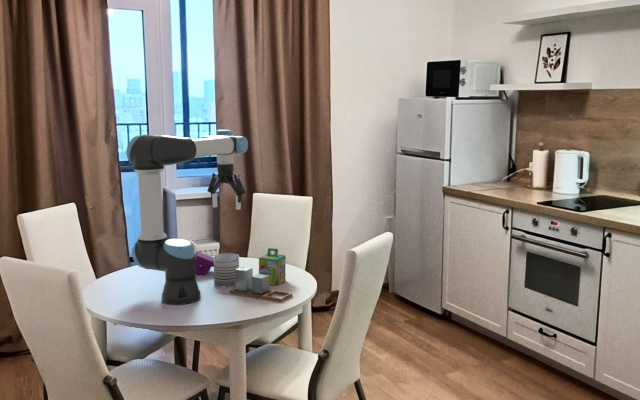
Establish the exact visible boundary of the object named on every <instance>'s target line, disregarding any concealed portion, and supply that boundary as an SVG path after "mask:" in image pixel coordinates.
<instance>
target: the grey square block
mask: <svg viewBox="0 0 640 400" xmlns="http://www.w3.org/2000/svg"><path fill="white" fill-rule="evenodd" d="M252 276H254V275H253V267H248V266H241V267H240V266H239V268H238V269H235V277H236V285H235V288H236V291H238V292H244V293H248V292H250V291H252Z"/></svg>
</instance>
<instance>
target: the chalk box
mask: <svg viewBox="0 0 640 400" xmlns="http://www.w3.org/2000/svg"><path fill="white" fill-rule="evenodd" d="M271 252H274V253H271ZM278 253H279V249H278V248H274V247H273V248H271V247H269V248H268V249H267V253H266V254H263V255H262V256H260V257H258V274H264V275H269V286H275V285H276V286H277V287H278V286H280V284H282V283H284V282H285V281H286V258H287V257H286V255H285V254H278Z"/></svg>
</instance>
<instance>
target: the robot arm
mask: <svg viewBox="0 0 640 400" xmlns="http://www.w3.org/2000/svg"><path fill="white" fill-rule="evenodd" d="M248 147H249V141H248V139H247V137H245V136H241V135H233V131H232V130H230V129H218V130H216V132H215V135H203V136H201V137H200V138H195V139H194V138H193V139H192V138H191V137H187V136H185V137H180V136H179V137H178V136H172V135H155V134H141V135H135V136H134V137H132V138H131V139H130V141H129V142H128V144H127V145H126V151H125V152H126V157H127V160H128V161H129V162H130V163H131V164H132V165H133V171H134V172H136V174H137V179H138V180H137V181H138V201H139V215H140V216H139V217H140V219H139V220H140V234H138V236H137V240H136V241H135V242H134V244H133V247H132V249H131V256H132V260H133V262H134V264H136V265H137V266H138V267H140V268H142V269H146V270H152V271H153V270H154V271H158V272H160V271H161V272H164V274H165V275H164V276H165V283H164V285H163V289H162V290H163V291H162V292H161V301H162V303H164V304H167V305H168V304H169V305H174V306H175V305H178V306H179V305H187V304H191V303H195V302H198V301H199V300H200V299H201V298H202V295H201V290H200V288H199V284H198V282H197V278H196V275H195V254H196V252H195V245H194V243H192V241H189V240H187V239H183V238H170V239H168V234H166V233H165V232H164V225H163V224H164V223H163V204H162V203H163V202H162V182H161V181H162V180H161V178H162V177H161V173H162V172H163V171H164V170H165V166H172V165H177V164H182V163H188V162H192V161H193V160H194V159H199V158H206V157H213V156H214V157H216V162H217V163H218V164H217V165H216V166H217V167H216V168H217V170H216V171H217V172H213V173H212V174H211V180H210V183H209V186H208V188H207V193H210V199H211V201H212V208H214V209H215V208H218V193H217V191H218V190H219V189H220V187H221V185H222V184H228V185H229V186H230V187H231V188H232V190H233V191H234V192H235V194H236V195H235V210H236V211H237V210H239V211H240V210H241V209H242V207H241V203H242V202H243V197H242V196H243V195H245V194H246V190H245V188H244V186H243V184H242V181H241V179H240V174H239V173H236V174H235V173H234V170H235V169H234V154H238V155H239V154H245V153H246V152H247V150H248Z"/></svg>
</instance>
